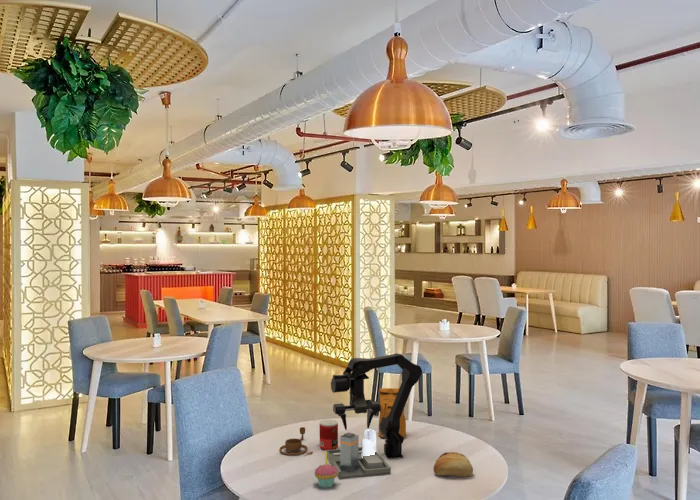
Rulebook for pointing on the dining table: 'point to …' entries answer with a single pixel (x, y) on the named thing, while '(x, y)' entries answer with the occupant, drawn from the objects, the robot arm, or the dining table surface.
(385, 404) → the coffee package
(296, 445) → the place setting
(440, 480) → the dining table surface
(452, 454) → the bread roll
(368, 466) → the case
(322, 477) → the cupcake
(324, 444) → the canned food
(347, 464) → the block
